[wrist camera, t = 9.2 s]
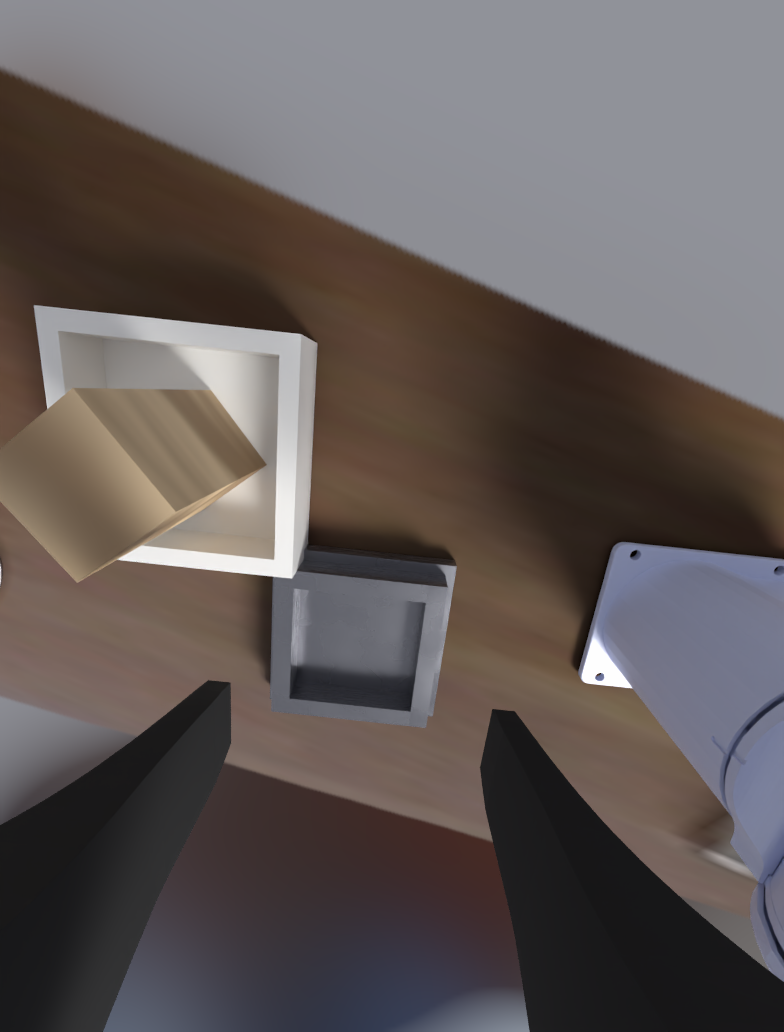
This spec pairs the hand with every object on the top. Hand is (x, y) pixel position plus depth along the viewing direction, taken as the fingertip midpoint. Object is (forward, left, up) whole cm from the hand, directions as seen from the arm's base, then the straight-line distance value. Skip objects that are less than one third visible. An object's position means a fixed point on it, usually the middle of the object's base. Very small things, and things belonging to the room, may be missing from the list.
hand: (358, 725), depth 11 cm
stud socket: (+1, +4, -10) cm, 11 cm away
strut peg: (+9, -5, -10) cm, 14 cm away
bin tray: (+9, -5, -10) cm, 15 cm away
